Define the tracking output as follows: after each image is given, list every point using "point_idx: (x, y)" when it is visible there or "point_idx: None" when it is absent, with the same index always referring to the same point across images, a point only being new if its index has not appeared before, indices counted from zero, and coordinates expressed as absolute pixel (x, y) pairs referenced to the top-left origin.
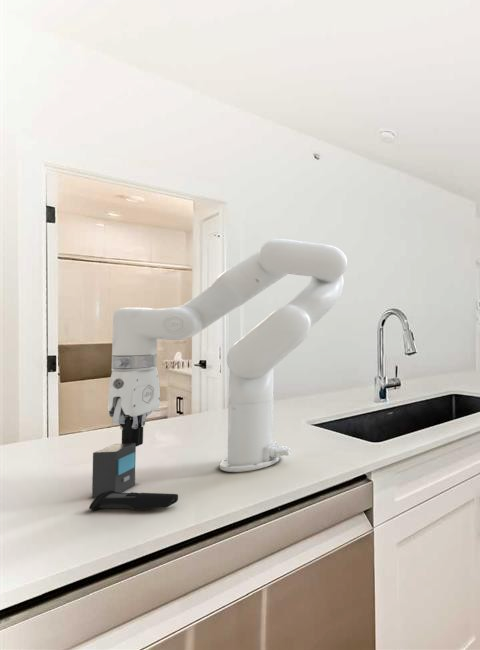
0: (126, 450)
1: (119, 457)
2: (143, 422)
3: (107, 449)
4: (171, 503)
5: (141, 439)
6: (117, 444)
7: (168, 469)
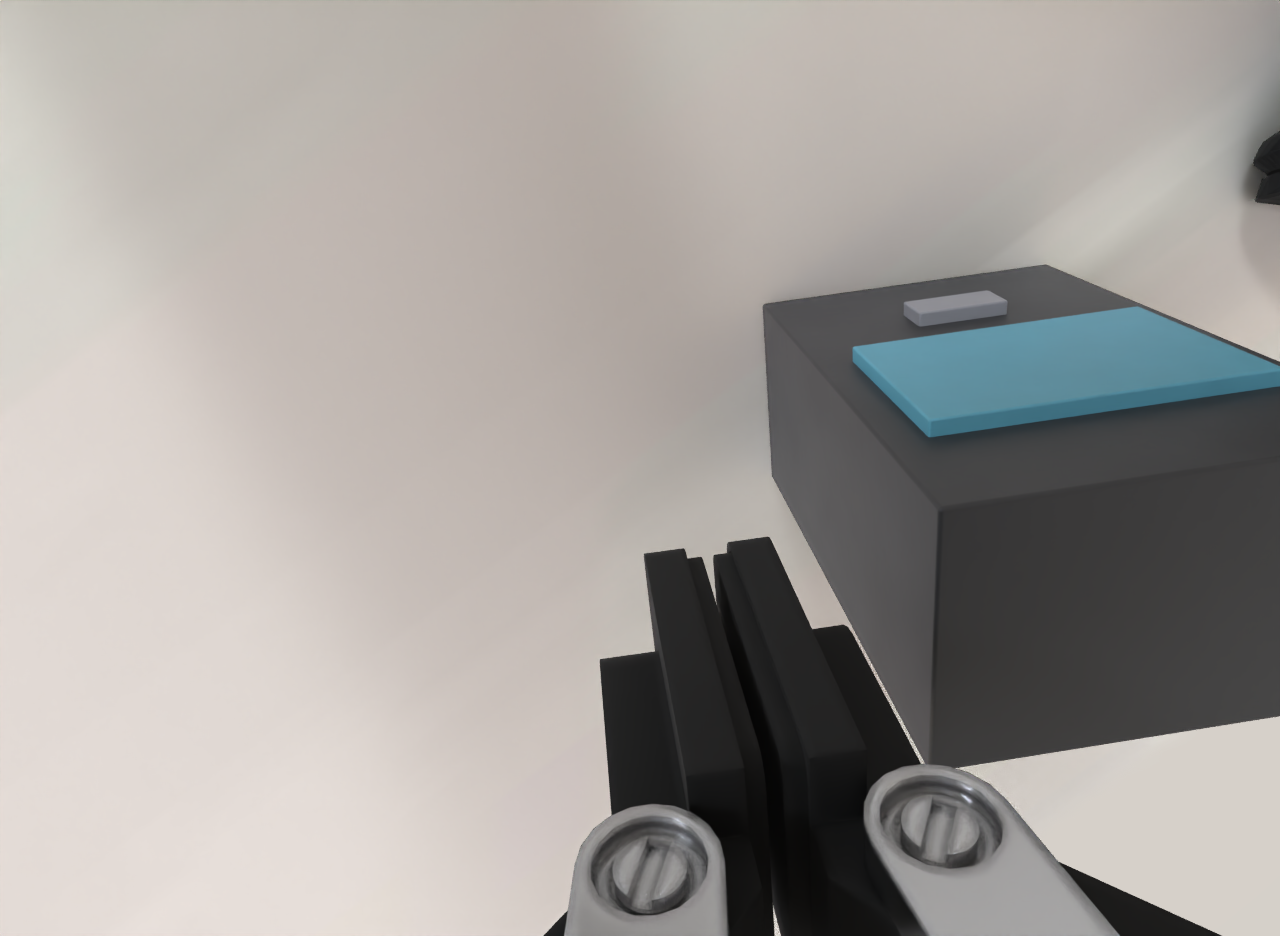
0: (1145, 448)
1: (1257, 400)
2: (622, 897)
3: (1246, 647)
4: None
5: (692, 592)
6: (972, 717)
7: (286, 298)
